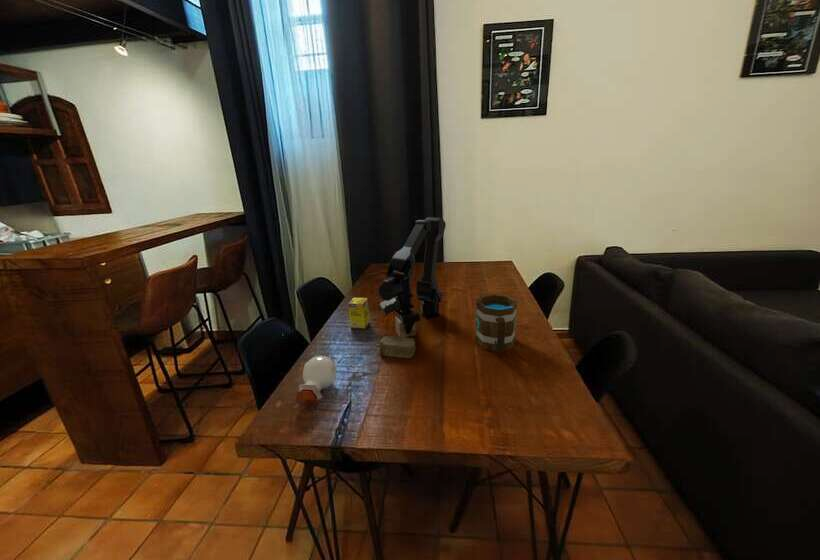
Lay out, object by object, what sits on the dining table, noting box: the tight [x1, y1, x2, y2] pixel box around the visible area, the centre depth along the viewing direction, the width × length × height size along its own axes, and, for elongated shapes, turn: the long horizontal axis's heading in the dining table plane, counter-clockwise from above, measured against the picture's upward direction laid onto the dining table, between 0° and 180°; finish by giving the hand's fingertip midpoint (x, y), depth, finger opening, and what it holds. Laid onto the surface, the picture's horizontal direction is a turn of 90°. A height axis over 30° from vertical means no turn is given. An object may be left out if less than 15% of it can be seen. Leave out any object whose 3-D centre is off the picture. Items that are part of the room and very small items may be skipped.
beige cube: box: [394, 315, 417, 338], centre depth 126 cm, size 6×6×6 cm
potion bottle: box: [295, 355, 338, 410], centre depth 96 cm, size 9×10×15 cm
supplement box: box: [348, 297, 371, 331], centre depth 133 cm, size 6×6×11 cm
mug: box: [474, 293, 518, 353], centre depth 113 cm, size 20×14×15 cm
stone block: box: [379, 335, 416, 359], centre depth 114 cm, size 6×12×5 cm, turn 76°
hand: (405, 329), depth 127 cm, fingers closed on beige cube, 6 cm apart
